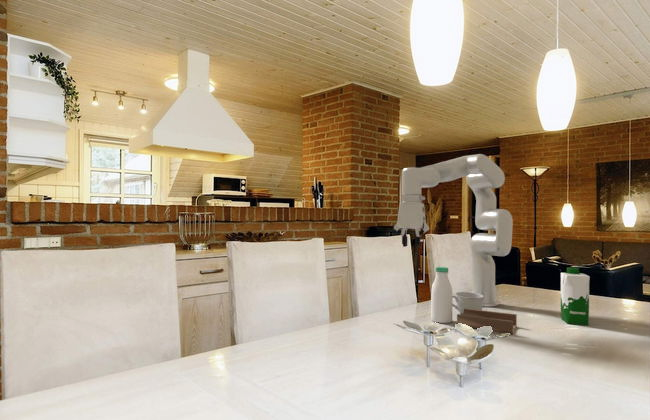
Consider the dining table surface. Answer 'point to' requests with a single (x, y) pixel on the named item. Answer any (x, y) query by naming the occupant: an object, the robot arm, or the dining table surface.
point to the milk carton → (575, 297)
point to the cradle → (489, 320)
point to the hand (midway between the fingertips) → (411, 246)
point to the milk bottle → (441, 297)
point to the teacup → (468, 301)
